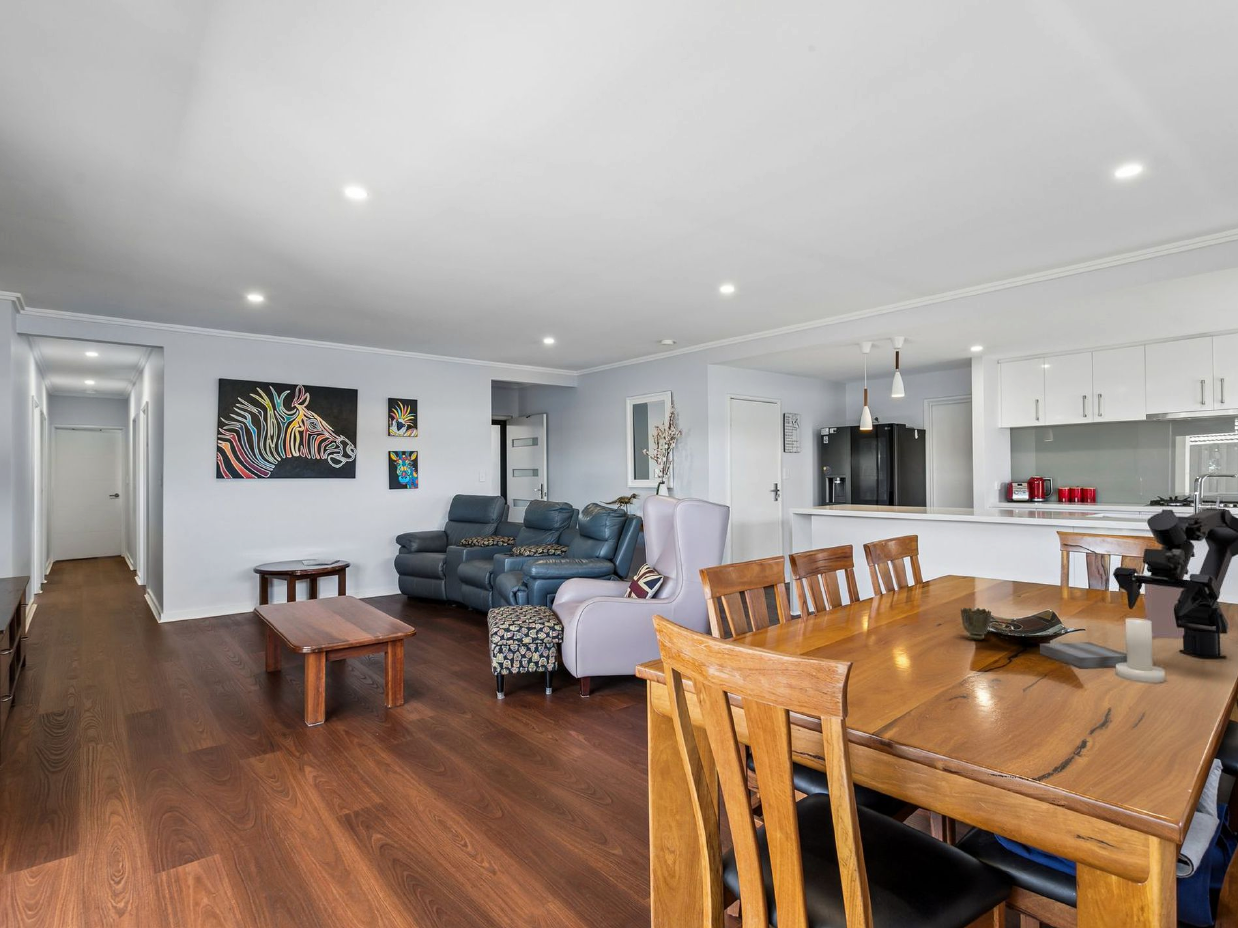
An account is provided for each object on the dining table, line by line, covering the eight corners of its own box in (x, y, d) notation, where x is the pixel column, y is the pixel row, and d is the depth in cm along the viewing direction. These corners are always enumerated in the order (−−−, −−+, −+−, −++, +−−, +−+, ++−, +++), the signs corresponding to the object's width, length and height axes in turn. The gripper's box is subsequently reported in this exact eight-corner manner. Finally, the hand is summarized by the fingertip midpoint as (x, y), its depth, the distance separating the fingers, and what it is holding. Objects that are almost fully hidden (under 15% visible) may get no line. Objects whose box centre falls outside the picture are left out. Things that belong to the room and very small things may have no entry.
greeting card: (1199, 638, 181) (1198, 582, 181) (1198, 643, 175) (1196, 586, 176) (1146, 631, 189) (1144, 578, 189) (1143, 636, 183) (1141, 581, 183)
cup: (962, 641, 180) (961, 611, 180) (959, 635, 187) (959, 606, 187) (993, 643, 177) (993, 613, 178) (989, 637, 184) (989, 608, 184)
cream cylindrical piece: (1143, 670, 151) (1141, 615, 151) (1175, 682, 143) (1173, 623, 143) (1106, 671, 151) (1104, 616, 151) (1136, 683, 142) (1135, 624, 143)
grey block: (1088, 651, 168) (1088, 641, 168) (1133, 666, 155) (1132, 655, 155) (1040, 653, 167) (1040, 643, 167) (1081, 668, 154) (1080, 657, 154)
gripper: (1115, 533, 162) (1094, 583, 156) (1213, 538, 146) (1193, 594, 140) (1131, 563, 166) (1111, 612, 160) (1228, 571, 150) (1210, 627, 144)
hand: (1153, 611), depth 151 cm, fingers open, 9 cm apart
